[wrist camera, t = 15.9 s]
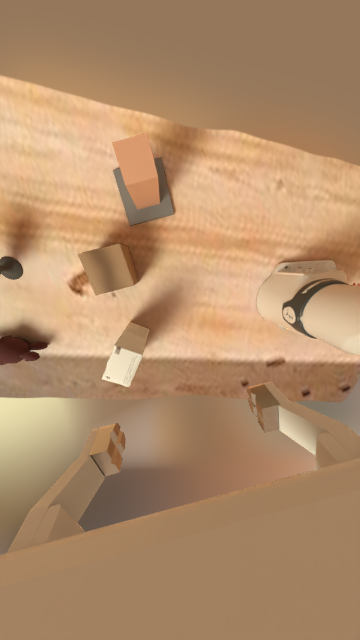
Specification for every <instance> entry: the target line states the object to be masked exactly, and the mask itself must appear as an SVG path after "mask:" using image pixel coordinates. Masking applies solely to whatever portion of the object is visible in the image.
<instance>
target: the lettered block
mask: <svg viewBox="0 0 360 640" xmlns="http://www.w3.org/2000/svg"><path fill="white" fill-rule="evenodd" d="M78 256H79V258H80V260H81V262H82V265H83V267H84V269H85V272H86V274H87V276H88V279H89V281H90V283H91V286H92V288H93V290H94V293H95V295H99V294H103V293H107V292H111V291H114V290H118V289H122V288H126V287H129V286H133V285H135V284H136V283H138V282H139V278H138V275H137V272H136V269H135V266H134V263H133V260H132V257H131V254H130V251H129V248H128V247H127V246H125V245H122V244H120V243H119V244H115V245H111V246H107V247H104V248H100V249H94V250H91V251H87V252H83V253H81V254H78Z"/></svg>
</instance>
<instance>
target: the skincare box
mask: <svg viewBox="0 0 360 640" xmlns="http://www.w3.org/2000/svg"><path fill="white" fill-rule="evenodd" d="M149 331H150V329H148V328H145V327H143V326H140V325H137V324H135V323H132V322H130V323H129V324H128V326H127V327H126V329H125V330H124V332H123V333H122V335H121V336H120V338H119V339H118V340H117V342H116V343H115V345H114V348H113V351H112V354H111V356H110V359H109V360H108V362H107V367H106V370H105V372H104V374H103V376H102V379H103V380H107V381H110V382H114V383H117V384H121V385H124V386H127V387H129V386H130V384H131V382H132V380H133V377H134V375H135V373H136V371H137V368H138V366H139V363H140V361H141V358H142V356H143V352H144V348H145V345H146V341H147V338H148V334H149Z"/></svg>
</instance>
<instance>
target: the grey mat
mask: <svg viewBox="0 0 360 640" xmlns="http://www.w3.org/2000/svg"><path fill="white" fill-rule="evenodd" d="M154 162H155V166H156V171H157V175H158V183H159V197H160V204H157V205H154V206H150V207H146V208H143V209H139V210H137V208H136V206H135V204H134V202H133V200H132V198H131V196H130V194H129V192H128V190H127V188H126V186H125V183H124V180H123V176H122V173H121V170H120V168H119V169H115V170H113V172H114V175H115V178H116V182H117V185H118V188H119V191H120V194H121V198H122V201H123V204H124V207H125V210H126V214H127V217H128V220H129V223H130V226H132V225H136V224H139V223H143V222H147V221H151V220H154V219H158V218H162V217H166V216H170V215H173V214H174V212H173V207H172V203H171V198H170V194H169V190H168V185H167V181H166V176H165V172H164V167H163V163H162V159H161V158H157V159H154Z"/></svg>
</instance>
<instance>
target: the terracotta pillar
mask: <svg viewBox="0 0 360 640" xmlns="http://www.w3.org/2000/svg"><path fill="white" fill-rule="evenodd" d="M112 144H113V147H114V150H115V153H116V157H117V160H118V163H119V167H120V170H121V173H122V176H123V180H124V183H125V186H126V188H127V190H128V192H129V194H130V196H131V198H132V200H133V202H134V204H135V206H136V208H137V210H139V209H143V208H146V207H150V206H154V205H157V204H160V197H159V183H158V175H157V171H156V166H155V162H154V158H153V154H152V150H151V146H150V142H149V138H148V134H147V133H145V134H142V135H138V136H135V137H131V138H127V139H124V140H120V141H116V142H113V143H112Z"/></svg>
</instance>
